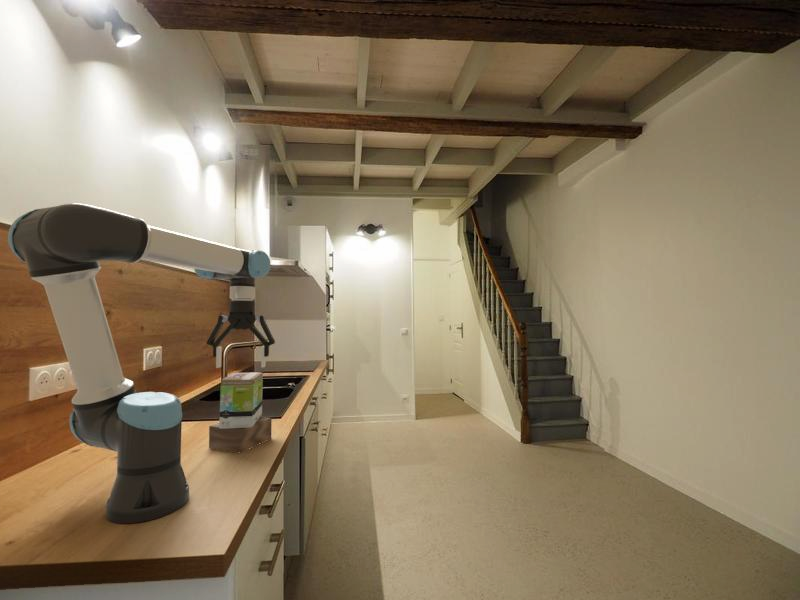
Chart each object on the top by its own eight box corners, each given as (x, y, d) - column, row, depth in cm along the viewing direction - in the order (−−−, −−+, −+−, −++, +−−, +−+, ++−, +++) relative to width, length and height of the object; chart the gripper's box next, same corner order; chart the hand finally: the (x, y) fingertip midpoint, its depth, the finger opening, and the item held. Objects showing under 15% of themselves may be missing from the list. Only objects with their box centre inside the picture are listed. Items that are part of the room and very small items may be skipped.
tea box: (253, 428, 119) (254, 378, 119) (218, 429, 117) (218, 379, 117) (262, 414, 133) (263, 370, 134) (231, 416, 132) (231, 371, 132)
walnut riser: (240, 454, 116) (240, 430, 116) (208, 449, 120) (209, 426, 121) (271, 439, 129) (271, 418, 130) (241, 435, 134) (242, 414, 134)
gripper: (284, 301, 131) (283, 365, 130) (205, 300, 128) (204, 365, 127) (280, 300, 124) (279, 368, 123) (196, 299, 121) (194, 369, 120)
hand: (241, 367), depth 125 cm, fingers open, 13 cm apart
